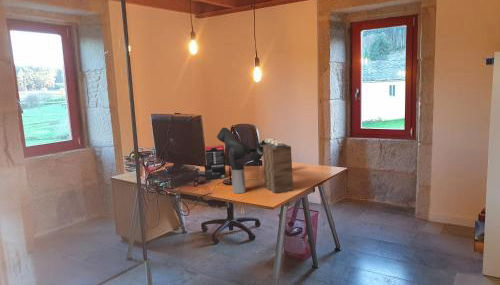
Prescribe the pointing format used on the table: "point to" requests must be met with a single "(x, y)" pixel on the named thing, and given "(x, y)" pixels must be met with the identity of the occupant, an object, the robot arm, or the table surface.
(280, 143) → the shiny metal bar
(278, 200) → the table surface
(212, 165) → the graphics card box
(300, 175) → the table surface
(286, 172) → the walnut cabinet
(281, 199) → the table surface
